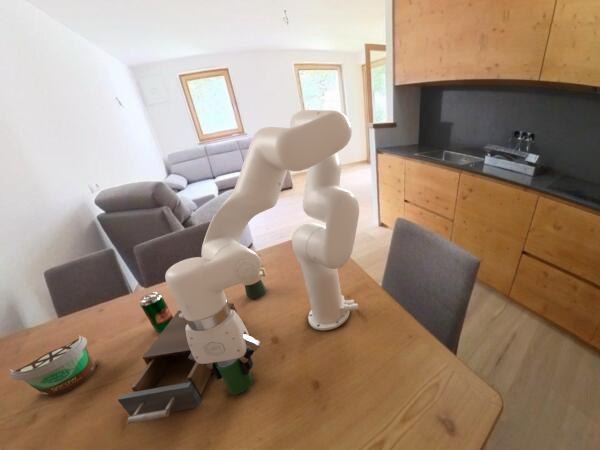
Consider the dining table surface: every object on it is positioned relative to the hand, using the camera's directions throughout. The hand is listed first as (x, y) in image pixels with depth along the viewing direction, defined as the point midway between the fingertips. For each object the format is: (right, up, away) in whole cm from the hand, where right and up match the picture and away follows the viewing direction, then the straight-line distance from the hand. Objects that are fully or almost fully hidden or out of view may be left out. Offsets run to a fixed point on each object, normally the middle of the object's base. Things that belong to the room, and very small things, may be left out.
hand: (235, 371), depth 65 cm
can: (0, -4, +2) cm, 4 cm away
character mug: (-12, +10, +33) cm, 36 cm away
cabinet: (-16, 0, +12) cm, 20 cm away
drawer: (-14, -5, +1) cm, 15 cm away
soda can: (-34, +3, +20) cm, 39 cm away
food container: (-44, -6, +5) cm, 44 cm away
